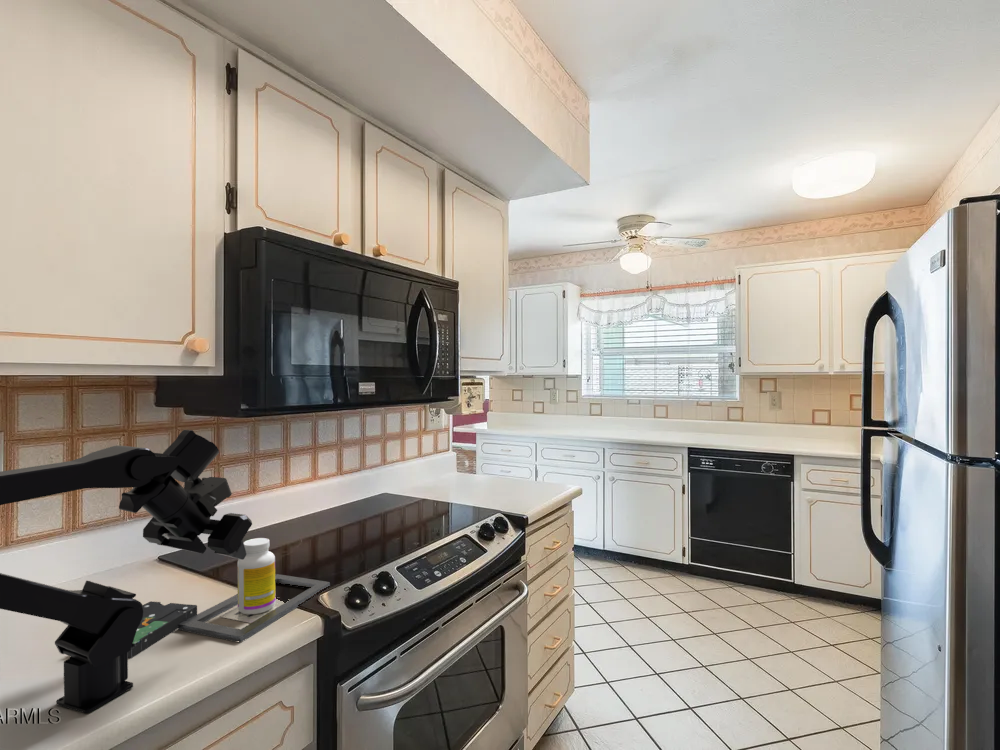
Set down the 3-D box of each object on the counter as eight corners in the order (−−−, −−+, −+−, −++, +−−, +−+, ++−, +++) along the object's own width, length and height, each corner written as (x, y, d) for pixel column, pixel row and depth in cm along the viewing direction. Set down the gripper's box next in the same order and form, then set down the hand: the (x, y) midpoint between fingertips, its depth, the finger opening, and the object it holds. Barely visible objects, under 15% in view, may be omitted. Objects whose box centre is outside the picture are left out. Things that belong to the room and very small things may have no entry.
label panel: (240, 642, 89) (240, 636, 89) (178, 629, 93) (178, 624, 93) (329, 586, 112) (329, 582, 112) (276, 578, 116) (276, 574, 116)
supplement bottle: (282, 606, 102) (282, 540, 102) (249, 619, 97) (248, 549, 97) (263, 597, 106) (263, 534, 106) (230, 609, 101) (230, 542, 101)
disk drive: (149, 615, 100) (75, 656, 86) (149, 600, 100) (75, 639, 86) (198, 619, 99) (132, 661, 84) (198, 604, 99) (132, 643, 84)
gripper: (245, 467, 87) (289, 519, 97) (161, 460, 93) (211, 510, 103) (202, 526, 79) (256, 577, 89) (114, 515, 85) (173, 563, 95)
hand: (224, 554), depth 94 cm, fingers open, 9 cm apart
